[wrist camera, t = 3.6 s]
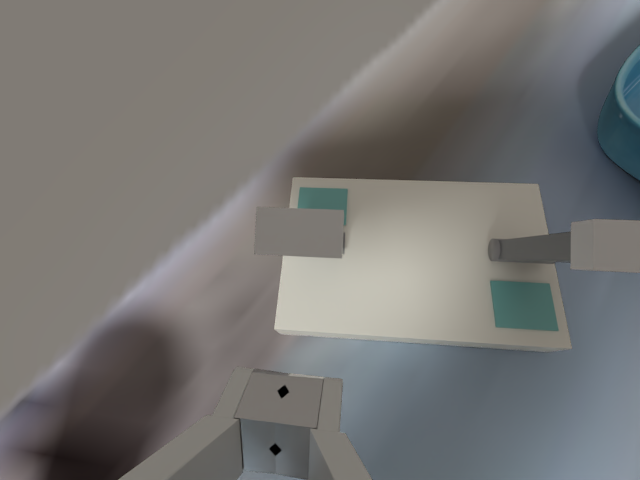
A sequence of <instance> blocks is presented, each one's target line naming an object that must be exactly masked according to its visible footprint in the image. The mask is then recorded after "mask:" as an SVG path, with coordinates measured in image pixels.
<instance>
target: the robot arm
mask: <svg viewBox="0 0 640 480" xmlns="http://www.w3.org/2000/svg"><path fill="white" fill-rule="evenodd" d="M342 387H343V380H342V379H338V378H329V377H319V376H310V375H300V374H291V373H289V374H288V373H281V372H274V371H267V370H260V369H251V368H244V367H236V368H235V370H234V371H233V373H232V375H231V377H230V379H229V381H228V383H227V385H226V387H225V389H224V391H223V394H222V396H221V398H220V400H219V402H218V404H217V406H216V408H215V410H214V412H213V415H206V416H204V417H203V418H202V419H200V420H199V421H198V422H196V423H195V424H194V425H192V426H191V427H189V428H188V429H187V430H185V431H184V432H183V433H181V434H180V435H178V436H177V437H176V438H174V439H173V440H172V441H170V442H169V443H168V444H166V445H165V446H163V447H162V448H161V449H159V450H158V451H157V452H155V453H154V454H153V455H151V456H150V457H148V458H147V459H146V460H144V461H143V462H142V463H140V464H139V465H137V466H136V467H135V468H133V469H132V470H131V471H129V472H128V473H127V474H125V475H124V476H122V477H121V478H120V479H118V480H237V479H238V478H239V476H240V475H241V474H242V473H243V470H244V471H253V472H262V473H271V474H278V475H284V476H290V477H295V478H301V479H307V480H372V478H371V476H370V475H369V473H368V471H367V470H366V468H365V466H364V464H363V463H362V461H361V459H360V458H359V456H358V454H357V452H356V451H355V449H354V447H353V446H352V444H351V442H350V440H349V439H348V437H347V435H346V433H341V432H340V418H341V403H342Z"/></svg>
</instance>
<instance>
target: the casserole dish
mask: <svg viewBox="0 0 640 480" xmlns="http://www.w3.org/2000/svg"><path fill="white" fill-rule="evenodd" d="M597 135H598V140H599V143H600V145H601V147H602V149H603V151H604V152H605V153H606V154H607V156H608V157H609V158H610V159H611V160H612V161H613V162H615V163H616V164H617V165H618V166H619V167H621V168H622V169H623V170H625V171H626V172H627V173H629V174H630V175H632V176H633V177H635V178H636V179H638V180H639V181H640V45H639V46H638V47H637V48H636V49H635V50H634V51H633V52H632V54H631V55H630V56H629V57H628V58H627V60H626V61H625V62H624V64H623V65H622V67H621V69H620V70H619V72H618V74H617V77H616V79H615V82H614V84H613V86H612V88H611V90H610V92H609V94H608V96H607V98H606V101H605V103H604V105H603V108H602V111H601V113H600V117H599V121H598V128H597Z"/></svg>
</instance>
